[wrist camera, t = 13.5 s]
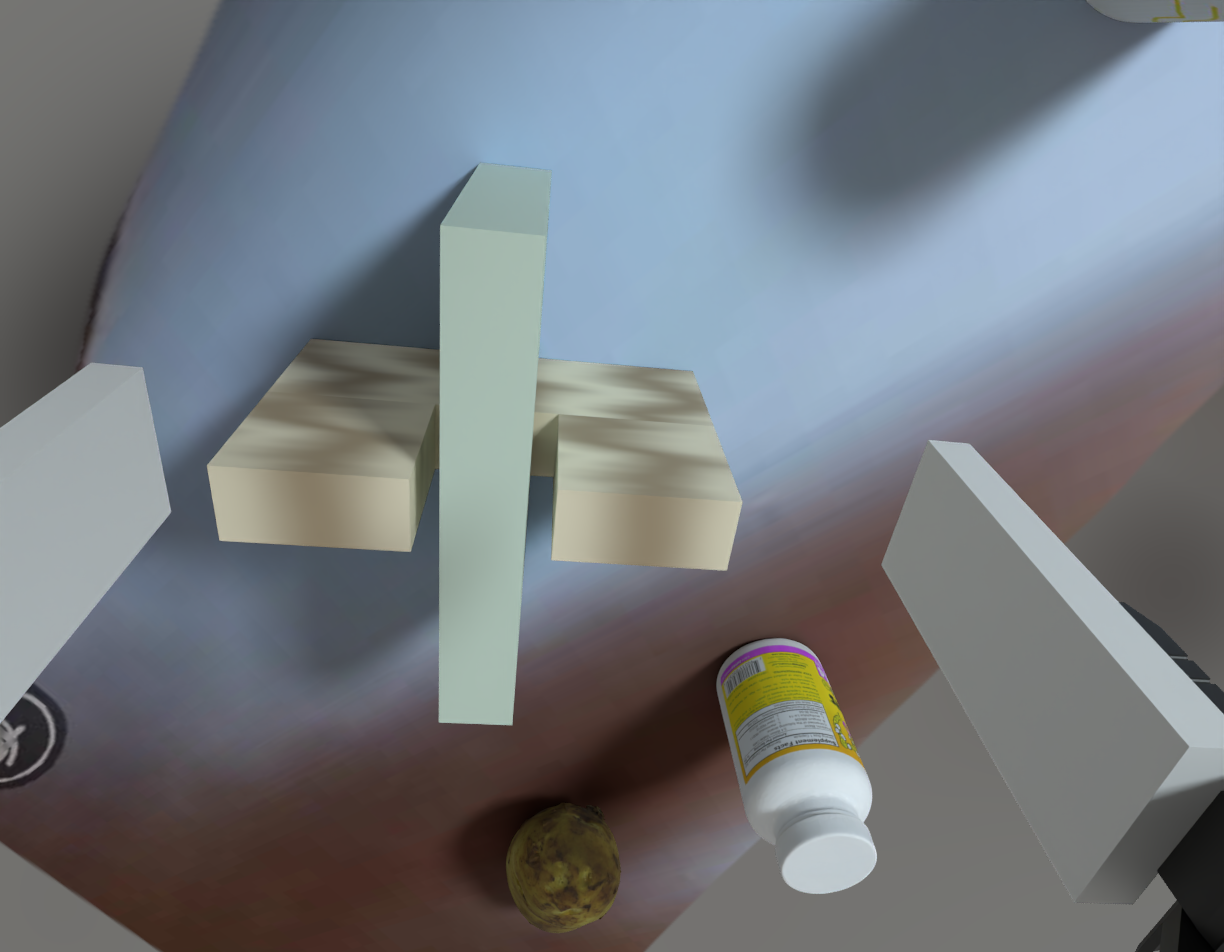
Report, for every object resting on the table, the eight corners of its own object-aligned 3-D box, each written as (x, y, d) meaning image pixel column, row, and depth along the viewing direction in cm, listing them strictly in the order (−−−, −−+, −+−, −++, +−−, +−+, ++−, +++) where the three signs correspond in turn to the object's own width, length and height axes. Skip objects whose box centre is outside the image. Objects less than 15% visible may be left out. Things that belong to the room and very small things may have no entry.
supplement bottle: (810, 710, 50) (881, 905, 39) (709, 711, 49) (751, 910, 38) (828, 631, 46) (912, 820, 35) (720, 632, 46) (770, 824, 35)
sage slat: (480, 162, 32) (440, 225, 22) (551, 170, 32) (545, 235, 22) (469, 551, 42) (439, 722, 32) (524, 554, 42) (512, 725, 32)
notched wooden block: (316, 397, 37) (219, 540, 27) (311, 338, 35) (206, 465, 25) (683, 426, 39) (726, 570, 28) (692, 371, 37) (742, 501, 27)
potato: (465, 859, 56) (451, 977, 49) (546, 749, 50) (543, 864, 43) (567, 888, 58) (567, 1004, 51) (655, 786, 53) (668, 900, 46)
